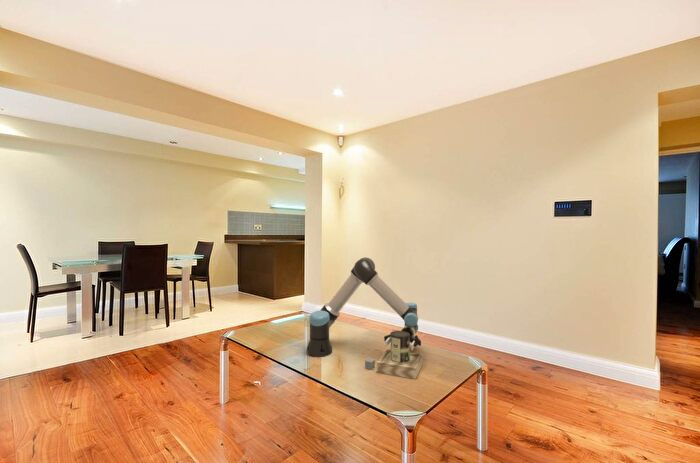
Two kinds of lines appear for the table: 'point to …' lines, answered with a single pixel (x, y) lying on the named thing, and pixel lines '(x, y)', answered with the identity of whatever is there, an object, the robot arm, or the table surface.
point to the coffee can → (400, 347)
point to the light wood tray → (400, 365)
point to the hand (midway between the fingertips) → (398, 345)
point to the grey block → (369, 363)
